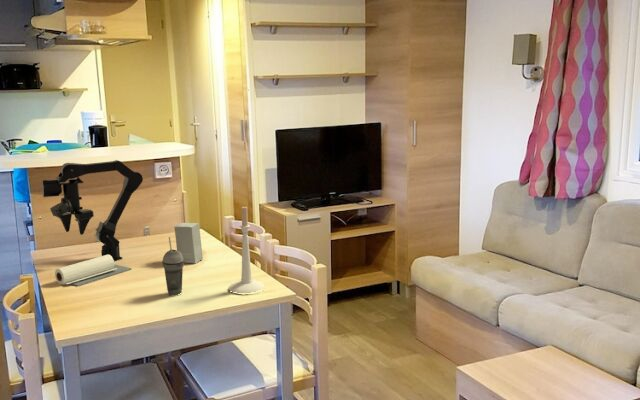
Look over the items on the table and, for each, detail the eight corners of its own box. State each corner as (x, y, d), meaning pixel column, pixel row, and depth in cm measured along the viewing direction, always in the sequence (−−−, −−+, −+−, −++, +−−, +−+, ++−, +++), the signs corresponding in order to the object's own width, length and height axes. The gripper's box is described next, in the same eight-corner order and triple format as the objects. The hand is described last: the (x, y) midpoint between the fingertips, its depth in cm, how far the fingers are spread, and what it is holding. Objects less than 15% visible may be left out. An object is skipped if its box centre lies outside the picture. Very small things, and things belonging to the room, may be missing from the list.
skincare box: (203, 260, 246) (201, 222, 243) (194, 264, 240) (192, 226, 237) (185, 258, 249) (183, 221, 246) (175, 263, 242) (173, 225, 239)
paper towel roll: (103, 257, 235) (52, 272, 218) (110, 251, 231) (58, 266, 214) (110, 274, 234) (59, 290, 217) (118, 268, 230) (66, 284, 213)
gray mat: (113, 265, 240) (113, 264, 240) (131, 269, 234) (131, 268, 234) (59, 281, 220) (59, 280, 220) (78, 286, 214) (77, 285, 214)
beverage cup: (174, 298, 201) (171, 241, 197) (159, 294, 205) (156, 238, 201) (190, 292, 207) (187, 236, 203) (175, 288, 211) (172, 234, 207)
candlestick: (224, 285, 214) (221, 203, 208) (259, 281, 218) (257, 201, 213) (233, 297, 202) (230, 210, 197) (269, 292, 207) (267, 207, 201)
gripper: (38, 195, 234) (42, 234, 237) (67, 200, 224) (71, 240, 227) (64, 191, 243) (67, 228, 246) (93, 195, 233) (96, 234, 236)
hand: (74, 233), depth 239 cm, fingers open, 9 cm apart
